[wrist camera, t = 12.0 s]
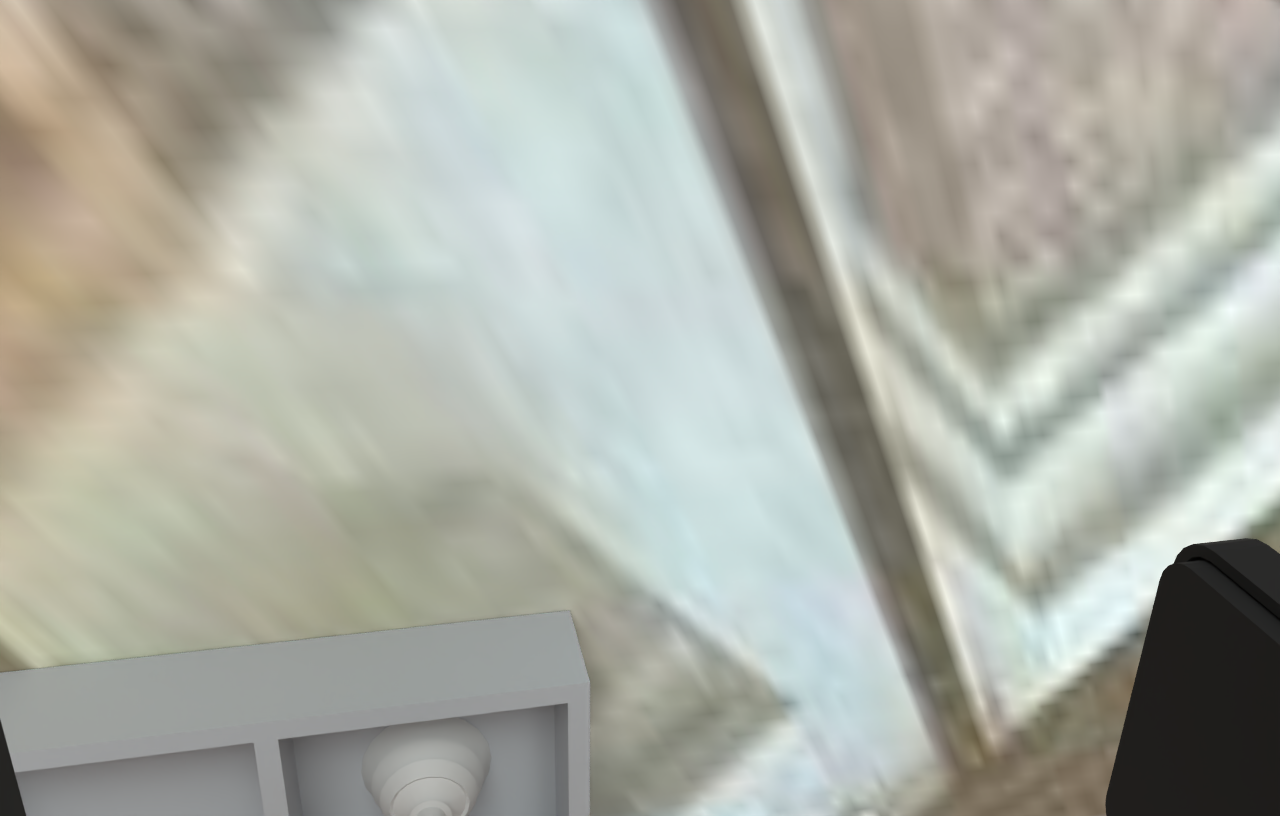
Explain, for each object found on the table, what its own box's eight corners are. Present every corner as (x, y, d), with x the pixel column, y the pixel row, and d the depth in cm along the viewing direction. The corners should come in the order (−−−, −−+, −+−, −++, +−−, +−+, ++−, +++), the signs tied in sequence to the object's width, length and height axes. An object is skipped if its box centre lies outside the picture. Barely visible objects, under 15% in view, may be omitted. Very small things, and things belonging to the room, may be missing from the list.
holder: (569, 610, 45) (589, 682, 42) (571, 833, 50) (589, 916, 46) (-60, 679, 41) (-105, 767, 37) (9, 916, 46) (-24, 1017, 42)
